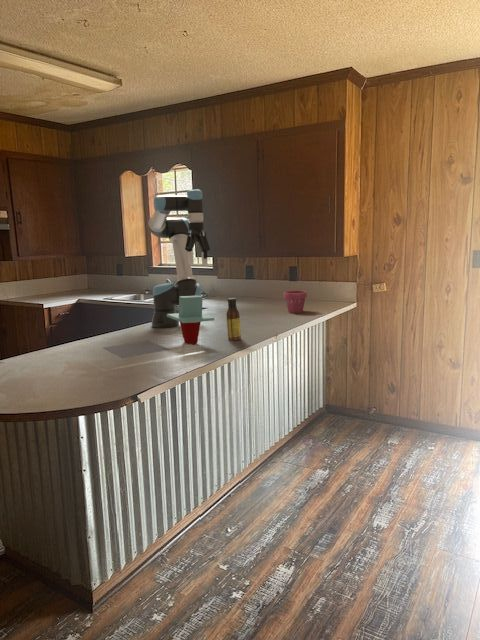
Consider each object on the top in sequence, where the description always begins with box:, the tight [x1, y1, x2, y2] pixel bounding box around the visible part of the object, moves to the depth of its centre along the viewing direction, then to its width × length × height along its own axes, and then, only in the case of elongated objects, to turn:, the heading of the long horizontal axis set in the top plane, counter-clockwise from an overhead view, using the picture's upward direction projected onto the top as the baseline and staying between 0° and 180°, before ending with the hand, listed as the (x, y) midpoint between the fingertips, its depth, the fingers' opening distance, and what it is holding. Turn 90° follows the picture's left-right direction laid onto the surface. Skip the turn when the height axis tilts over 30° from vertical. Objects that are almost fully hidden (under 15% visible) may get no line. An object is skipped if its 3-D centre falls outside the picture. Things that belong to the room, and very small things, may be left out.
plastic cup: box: [179, 322, 202, 346], centre depth 226 cm, size 11×11×12 cm
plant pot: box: [283, 290, 307, 314], centre depth 306 cm, size 14×14×13 cm
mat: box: [103, 339, 171, 359], centre depth 218 cm, size 24×22×1 cm
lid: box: [167, 295, 215, 323], centre depth 224 cm, size 16×16×10 cm
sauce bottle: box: [226, 297, 242, 341], centre depth 232 cm, size 7×6×20 cm
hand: (197, 264), depth 247 cm, fingers open, 13 cm apart
